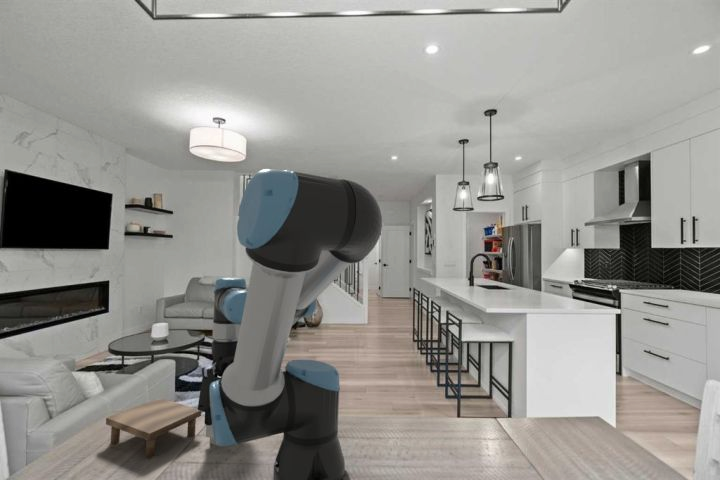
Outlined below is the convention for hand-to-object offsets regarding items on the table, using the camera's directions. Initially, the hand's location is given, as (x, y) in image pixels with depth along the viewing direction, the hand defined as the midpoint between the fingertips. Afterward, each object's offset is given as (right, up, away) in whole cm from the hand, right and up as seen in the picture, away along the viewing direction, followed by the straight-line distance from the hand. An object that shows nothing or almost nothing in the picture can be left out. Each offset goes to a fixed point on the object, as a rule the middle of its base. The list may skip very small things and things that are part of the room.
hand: (223, 429), depth 90 cm
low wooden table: (-17, -2, -1) cm, 17 cm away
